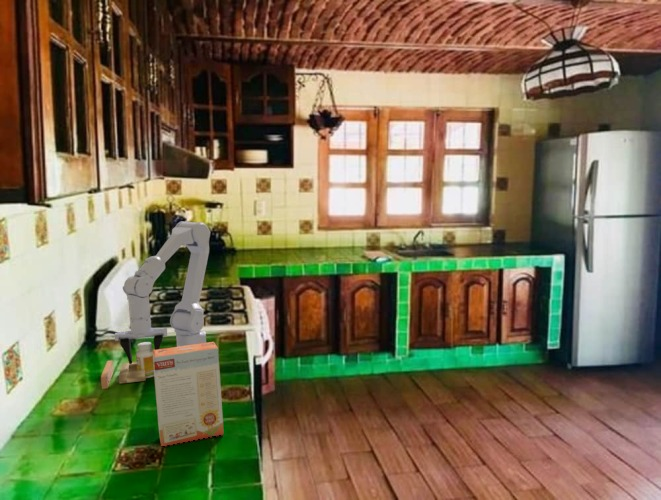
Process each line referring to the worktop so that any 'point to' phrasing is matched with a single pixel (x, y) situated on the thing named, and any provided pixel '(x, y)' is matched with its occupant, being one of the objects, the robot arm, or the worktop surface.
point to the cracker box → (188, 393)
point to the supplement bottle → (145, 359)
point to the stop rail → (107, 374)
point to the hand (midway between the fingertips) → (143, 361)
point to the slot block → (131, 373)
